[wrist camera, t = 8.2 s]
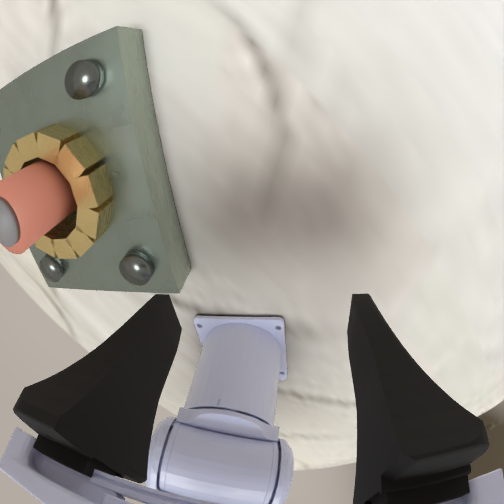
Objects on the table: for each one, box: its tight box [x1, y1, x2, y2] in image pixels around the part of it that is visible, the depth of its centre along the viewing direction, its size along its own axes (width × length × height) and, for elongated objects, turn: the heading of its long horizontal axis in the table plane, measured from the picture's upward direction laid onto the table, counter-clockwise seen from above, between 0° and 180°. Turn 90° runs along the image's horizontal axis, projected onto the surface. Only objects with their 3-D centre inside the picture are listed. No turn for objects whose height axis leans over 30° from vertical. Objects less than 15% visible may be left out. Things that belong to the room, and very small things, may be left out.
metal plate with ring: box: [0, 26, 191, 293], centre depth 18 cm, size 18×14×5 cm
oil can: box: [0, 159, 77, 254], centre depth 15 cm, size 4×4×8 cm
